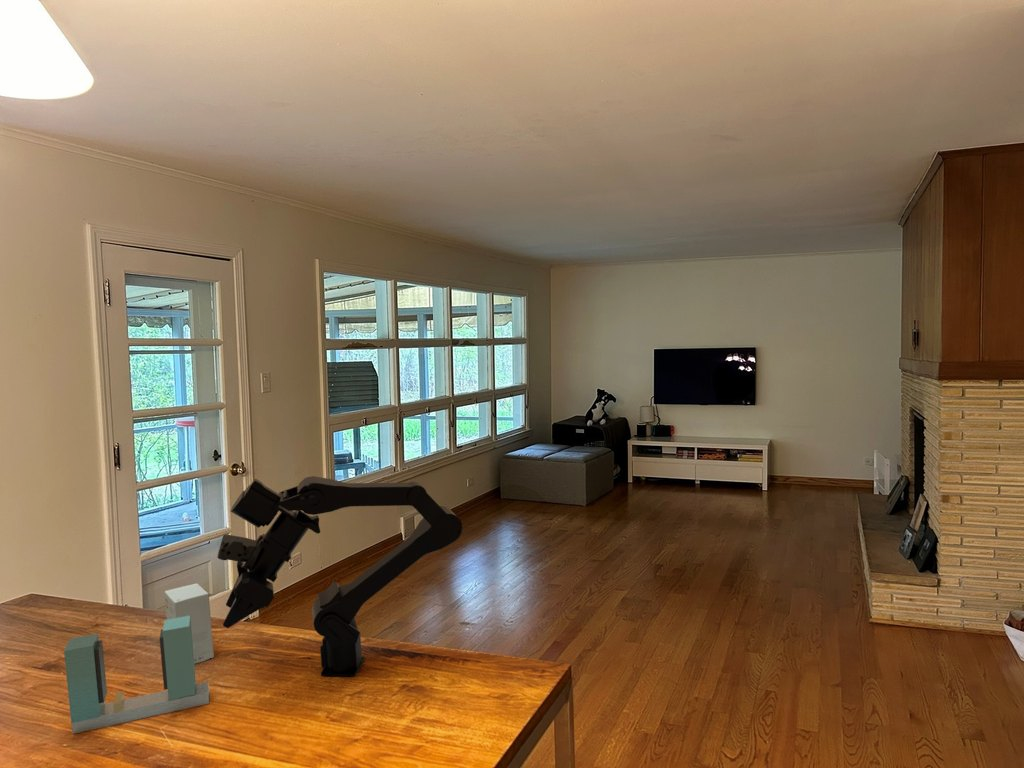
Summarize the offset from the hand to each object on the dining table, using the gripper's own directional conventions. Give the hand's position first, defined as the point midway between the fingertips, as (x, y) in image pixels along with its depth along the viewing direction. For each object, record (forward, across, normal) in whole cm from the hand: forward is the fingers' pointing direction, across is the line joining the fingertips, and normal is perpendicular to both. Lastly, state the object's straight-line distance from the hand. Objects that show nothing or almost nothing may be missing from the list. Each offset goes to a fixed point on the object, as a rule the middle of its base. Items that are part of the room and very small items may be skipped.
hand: (226, 616), depth 123 cm
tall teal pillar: (+14, +2, +1) cm, 14 cm away
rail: (+19, +2, -2) cm, 19 cm away
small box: (+16, -17, +2) cm, 23 cm away
